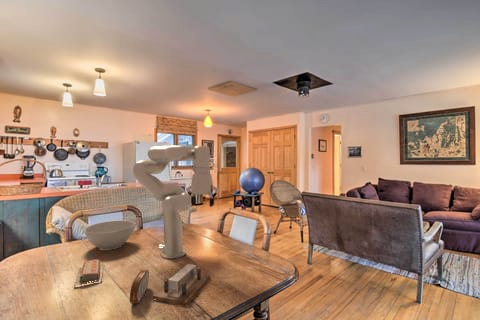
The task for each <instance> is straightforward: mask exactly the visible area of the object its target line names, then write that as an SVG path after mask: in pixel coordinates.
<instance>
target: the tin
mask: <svg viewBox="0 0 480 320" xmlns="http://www.w3.org/2000/svg"><path fill="white" fill-rule="evenodd" d="M149 274H150V271H149V269H140V271H139V272H138V273H137V275H136V276H135V278H134V279H133V281H132V284H131V287H130V290H129V291H130V293H129V302H130V304H139V303H140V302H141V301H140V300H142V299H143V297H144V296H145V294H146V292H147V290H148V286H149V277H150V276H149ZM146 289H147V290H146ZM145 291H146V292H145ZM141 298H142V299H141Z"/></svg>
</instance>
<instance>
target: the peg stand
mask: <svg viewBox="0 0 480 320" xmlns="http://www.w3.org/2000/svg"><path fill="white" fill-rule="evenodd" d="M184 267H185V265H184V266H183V265H182V266H180V270H181V269H182V268H184ZM201 269H202V268H196V278H195V279H194V280H193V281H192V282H191V283H190V284H189V285H188V286H187V287H186V283H185V282H184V283H182V292H181V293H180V294H179V295H176V294H170V293H169V279H164V280H163V286H161V288H160V289H158V290H157V291H156V292H155V293H154V294H152V300H153V299H156V300H155V301H157V300H160V301H159V302H163V301H165V302H164V303H168V302H169V304H173V303H174V305H178V304H179V306H183V305H184V307H187V306H188V305H189V304H190V302H191V301H192V300H193V299H194V298H195V297H196V296H197V295H198V294H199V292H200V291H201V290H202V289H204V287H205V286H206V284H207V283H208V282H209V280H211V275H210V274H209V275H208V274H202V270H201Z"/></svg>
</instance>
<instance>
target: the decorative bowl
mask: <svg viewBox="0 0 480 320" xmlns="http://www.w3.org/2000/svg"><path fill="white" fill-rule="evenodd" d="M135 228H136V222H135V221H132V220H125V219H124V220H110V221H103V222H102V221H101V222H98V223H94V224H91V225H89V226H87V227H85V228H84V230H83V232H84V235H85V237H86V239H87V240H88V242H89V243H91V244H92V245H93V246H95V247H97V248H98V249H99V250H100V249H102V250H101V251H112V250H111V249H114V250H117V249H119V247H120V248H122V247H123V246H122V245H124V244H125V243H126V242H127V241H128V240H129V239H130V238H131V237H132V235H133V233H134V232H135ZM116 248H117V249H116Z"/></svg>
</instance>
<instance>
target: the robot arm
mask: <svg viewBox="0 0 480 320" xmlns="http://www.w3.org/2000/svg"><path fill="white" fill-rule="evenodd" d="M210 151H211V150H210V147H209V146H208V145H196V146H195V145H162V146H161V145H160V146H152V147H151V148H149V149H148V151H147V157H148V160H147V159H144V160H139V161H137V162H135V163H134V165H133V167H132V170H133V171H132V173H133V176H134V178H135V180H136V181H137V182H138V183H139V184H140V185H141V186H142V187H144V188H145V189H146V190H147V191H148V193H150V194H151V195H152V197H154V198H155V200H156V201H159V202H161V210H162V215H163V217H162V218H163V244H159V245H158V246H159V247H158V250H159V251H162V252H160V253H161V254H160V255H161V258H163V259H168V260H171V259H173V260H174V259H178V258H181V257H183V256H184V255H186V249H184V248H183V220H182V219H183V218H182V217H181V215H180V212H185V211H188V210H189V209H191V208H192V206H195V205H197V197H196V195H204V196H205V195H208V196H209V197H210V198H209V207H210V208H211V207H214V206H215V197H216V196H217V195H218V193H219V191H220V188H218V187H216V186H215V185H214V184H213V183H214V181H213V177H212V173H211V158H210V157H211V156H210V155H211V152H210ZM193 161H194V167H193V168H192V169H191V171H192V172H193V174H192V177H191V183H190V186H188V187H186V191H185V190H184V189H183V187H181V186H180V184H178V183H176V182H168V183H167V182H166V183H165V182H162V181H161V180H160V178H158V177H156V176H155V175H159V174H161V173H162V172H164V170H165V169H166V167H168V165H169V164H171V162H193Z"/></svg>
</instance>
